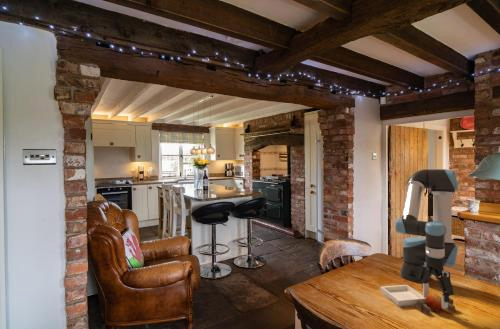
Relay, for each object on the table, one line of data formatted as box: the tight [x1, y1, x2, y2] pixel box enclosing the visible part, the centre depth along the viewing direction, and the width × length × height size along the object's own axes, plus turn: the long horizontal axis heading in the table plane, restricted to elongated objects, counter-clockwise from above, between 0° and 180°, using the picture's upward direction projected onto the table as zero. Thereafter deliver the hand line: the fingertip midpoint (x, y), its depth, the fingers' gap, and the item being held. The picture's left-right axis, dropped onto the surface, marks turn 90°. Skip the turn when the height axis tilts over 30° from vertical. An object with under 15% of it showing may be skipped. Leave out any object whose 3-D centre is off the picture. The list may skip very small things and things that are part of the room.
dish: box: [380, 284, 426, 308], centre depth 143 cm, size 15×15×3 cm
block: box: [415, 297, 456, 315], centre depth 132 cm, size 16×6×4 cm, turn 97°
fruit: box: [426, 293, 444, 313], centre depth 132 cm, size 8×8×8 cm
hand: (434, 301), depth 133 cm, fingers open, 10 cm apart
